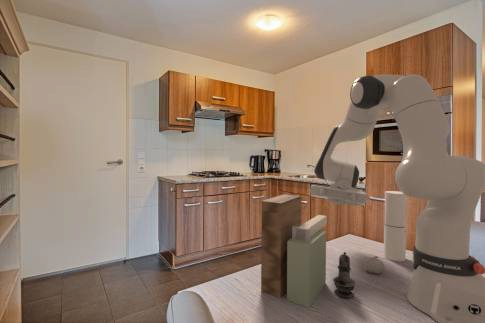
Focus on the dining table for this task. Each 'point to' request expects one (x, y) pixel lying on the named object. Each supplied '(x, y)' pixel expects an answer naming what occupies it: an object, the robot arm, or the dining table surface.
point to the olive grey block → (306, 268)
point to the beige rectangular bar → (309, 228)
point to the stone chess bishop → (344, 279)
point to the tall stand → (277, 240)
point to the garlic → (373, 265)
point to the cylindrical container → (395, 225)
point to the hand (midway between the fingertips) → (336, 194)
